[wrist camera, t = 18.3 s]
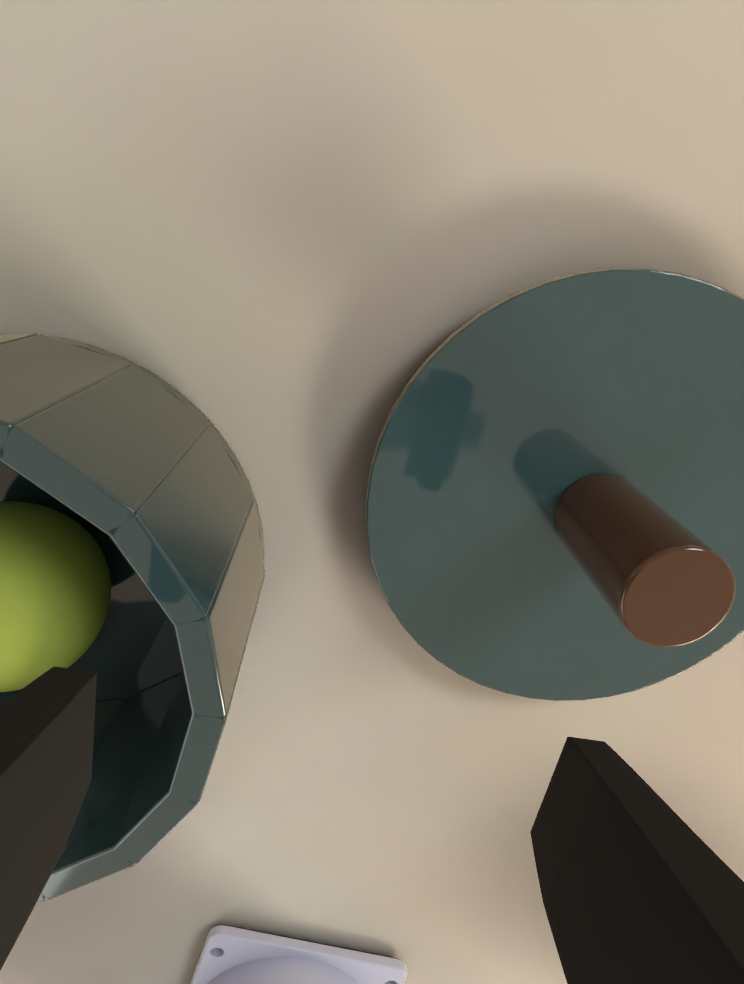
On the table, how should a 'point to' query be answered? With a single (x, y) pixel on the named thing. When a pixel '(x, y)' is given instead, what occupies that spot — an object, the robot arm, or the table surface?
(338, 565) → the table surface
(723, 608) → the pot lid
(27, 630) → the guava
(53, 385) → the pot
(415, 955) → the table surface
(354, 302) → the table surface
